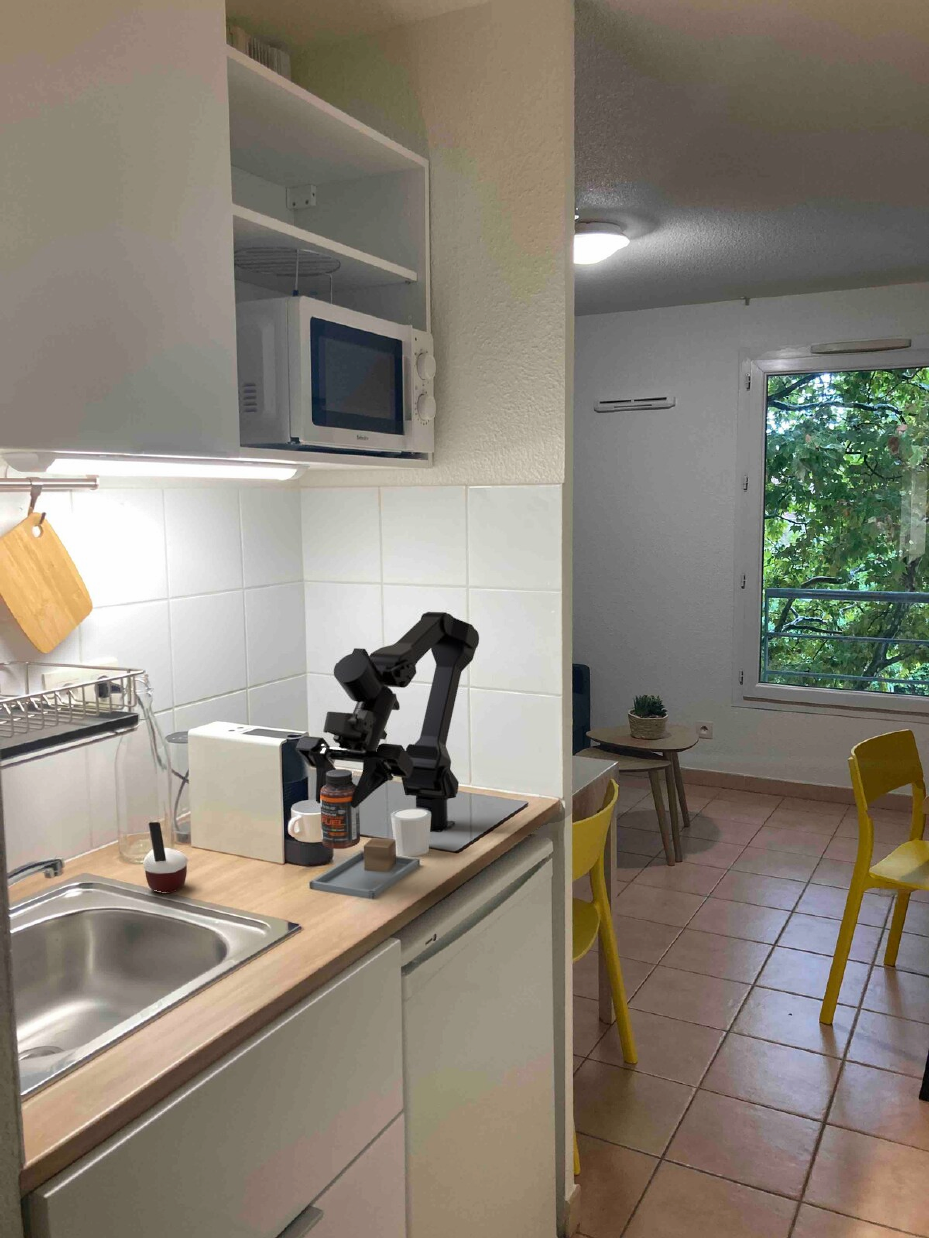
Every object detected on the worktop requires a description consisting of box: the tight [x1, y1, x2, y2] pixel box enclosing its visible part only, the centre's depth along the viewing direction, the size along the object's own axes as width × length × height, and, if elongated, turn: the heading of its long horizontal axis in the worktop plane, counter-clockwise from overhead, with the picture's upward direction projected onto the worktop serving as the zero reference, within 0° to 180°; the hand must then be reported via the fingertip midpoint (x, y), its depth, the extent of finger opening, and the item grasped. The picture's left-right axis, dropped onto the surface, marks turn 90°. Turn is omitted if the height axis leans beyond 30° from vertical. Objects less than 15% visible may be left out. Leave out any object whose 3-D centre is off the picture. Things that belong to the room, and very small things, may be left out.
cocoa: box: [142, 821, 189, 893], centre depth 153 cm, size 10×6×12 cm, turn 159°
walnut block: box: [363, 837, 397, 872], centre depth 160 cm, size 4×4×4 cm
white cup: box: [390, 807, 431, 857], centre depth 167 cm, size 7×7×7 cm
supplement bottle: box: [320, 768, 361, 850], centre depth 153 cm, size 6×6×11 cm
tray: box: [308, 850, 421, 900], centre depth 156 cm, size 15×11×2 cm
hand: (335, 804), depth 151 cm, fingers closed on supplement bottle, 6 cm apart
